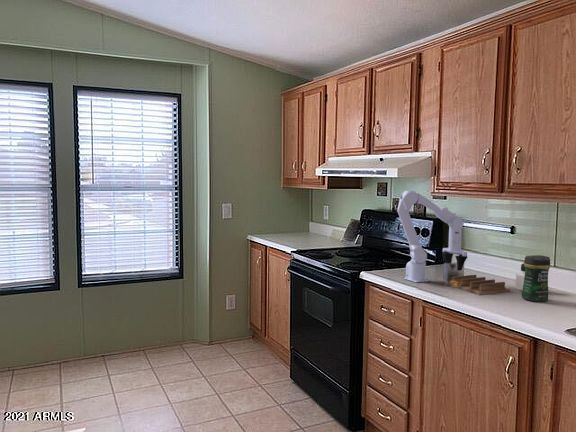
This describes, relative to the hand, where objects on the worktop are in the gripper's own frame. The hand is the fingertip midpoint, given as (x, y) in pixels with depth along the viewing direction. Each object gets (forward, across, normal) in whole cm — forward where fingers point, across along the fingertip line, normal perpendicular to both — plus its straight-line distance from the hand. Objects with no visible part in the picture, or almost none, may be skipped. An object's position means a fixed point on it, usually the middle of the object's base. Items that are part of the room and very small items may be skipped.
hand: (454, 268), depth 234 cm
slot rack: (+6, -15, 0) cm, 17 cm away
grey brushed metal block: (+6, 0, 0) cm, 6 cm away
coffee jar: (+6, -40, -6) cm, 42 cm away
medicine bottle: (+6, -26, -18) cm, 33 cm away
